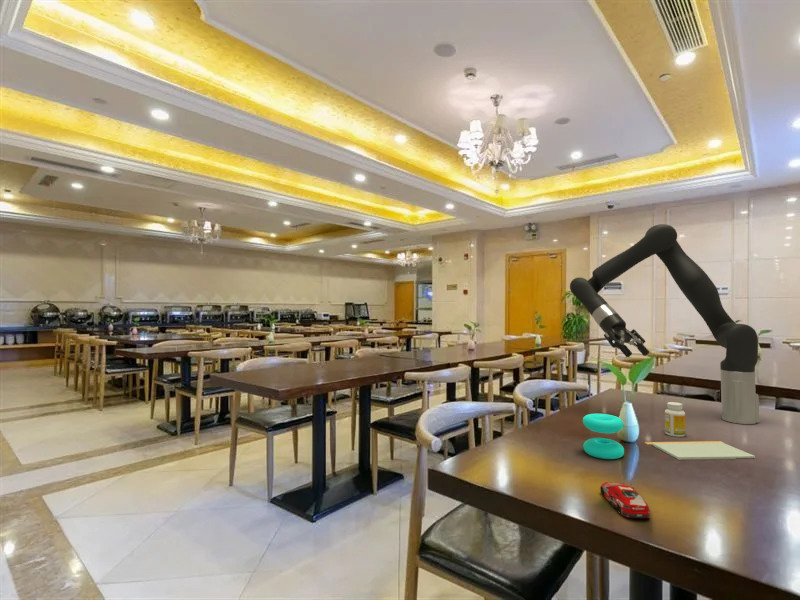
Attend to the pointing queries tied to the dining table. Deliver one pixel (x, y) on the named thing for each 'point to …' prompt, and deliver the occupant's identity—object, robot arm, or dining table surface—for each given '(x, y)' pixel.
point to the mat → (702, 451)
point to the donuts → (603, 445)
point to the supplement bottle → (675, 420)
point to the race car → (625, 500)
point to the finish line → (683, 442)
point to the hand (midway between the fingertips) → (638, 355)
